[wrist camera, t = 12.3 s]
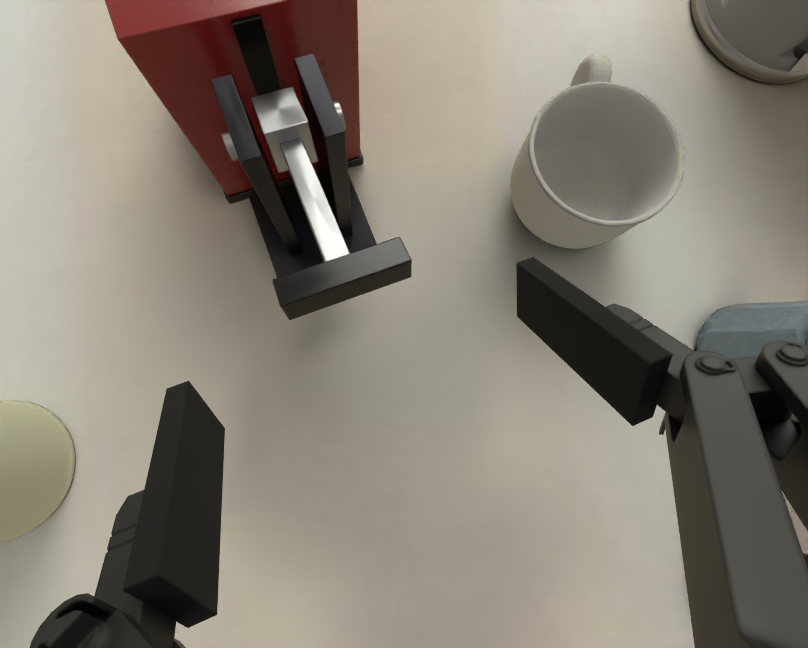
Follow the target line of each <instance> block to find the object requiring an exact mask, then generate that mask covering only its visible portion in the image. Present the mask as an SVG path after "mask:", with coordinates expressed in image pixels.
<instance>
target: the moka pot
mask: <svg viewBox="0 0 808 648" xmlns="http://www.w3.org/2000/svg"><path fill="white" fill-rule="evenodd" d="M774 341H790V342H794V343H798V344H802V345H804V346H806V347H808V301H800V302H778V303H752V304H740V305H734V306H728V307H724V308H721V309H719V310H717V311H716V312H715V313H713V314H712V315H711V316H710V318H709V319H708V320H707V321H706V323H705V324H704V325H703V327H702V329H701V330H700V332H699V335H698V338H697V346H696V347H697V350H696V351H712V352H717V353H720V354H722V355H725V356H727V357H729V358H730V359H734V358H743V357H751V356H758V355H759V353H760V352H761V350H762V348H763V346H764V345H766V344H767V343H769V342H774Z"/></svg>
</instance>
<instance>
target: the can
mask: <svg viewBox="0 0 808 648" xmlns="http://www.w3.org/2000/svg"><path fill="white" fill-rule="evenodd" d="M74 469H75V451H74V446H73V442H72V439H71V436H70V434H69V432H68V431H67V429H66V427H65V426H64V425H63V423H62V422H61V421H60V420H59V419H58V418H57V417H56V416H55V415H54V414H52V413H51V412H49V411H48V410H46V409H44V408H42V407H40V406H37V405H34V404H31V403H27V402H19V401H4V402H0V543H1V542H5V541H9V540H12V539H15V538H18V537H20V536H22V535H24V534H26V533H28V532H30V531H31V530H33V529H35V528H36V527H38V526H39V525H40V524H42V523H43V522H44V521H45V520H46V519H47V518H48V517H49V516H50V515H51V514H52V513H53V512H54V511H55V510H56V509H57V508H58V506H59V505H60V503H61V502H62V501H63V499H64V497H65V495H66V494H67V492H68V490H69V487H70V485H71V482H72V478H73V474H74Z"/></svg>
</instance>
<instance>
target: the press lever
mask: <svg viewBox="0 0 808 648" xmlns="http://www.w3.org/2000/svg"><path fill="white" fill-rule="evenodd" d="M250 100H251V102H252V105H253V108H254V111H255V113H256V116H257V119H258V121H259V124H260V127H261V130H262V132H263V135H264V138H265V140H266V143H267V145H268V148H269V150H270V153H271V156H272V158H273V161H274V163H275V166H276V168H277V171H278V173H281V172H284V171H288V170H289V172H290V174H291V177H292V179H293V182H294V185H295V187H296V190H297V192H298V195H299V198H300V200H301V203H302V205H303V208H304V211H305V213H306V216H307V218H308V221H309V224H310V226H311V229H312V232H313V234H314V237H315V239H316V242H317V245H318V247H319V250H320V252H321V255H322V258H323V260H324V262H323V263H320V264H317V265H314V266H311V267H308V268H305V269H302V270H299V271H296V272H294V273H291V274H288V275H285V276H282V277H279V278H276V279H273V285H274V288H275V291H276V294H277V297H278V301H279V304H280V306H281V308H282V310H283V311H284V313H285V314H286V316H287V317H288V319H289V320H292V319H295V318H297V317H300V316H303V315H306V314H309V313H311V312H314V311H317V310H320V309H323V308H325V307H328V306H331V305H334V304H337V303H340V302H342V301H345V300H348V299H351V298H354V297H356V296H359V295H362V294H365V293H368V292H370V291H373V290H376V289H379V288H382V287H384V286H387V285H390V284H393V283H396V282H399V281H401V280H404V279H407V278H410V277H411V262H412V260H411V258H410V256H409V254H408V252H407V250H406V248H405V246H404V244H403V242H402V240H401V238H400V237H397V238H394V239H391V240H388V241H385V242H382V243H379V244H376V245H374V246H371V247H368V248H365V249H362V250H359V251H356V252H353V253H350V252H349V250H348V248H347V245H346V243H345V241H344V238H343V236H342V233H341V231H340V229H339V226H338V224H337V222H336V219H335V217H334V214H333V212H332V210H331V207H330V205H329V203H328V200H327V198H326V195H325V193H324V191H323V188H322V186H321V184H320V181H319V179H318V177H317V174H316V172H315V169H314V167H313V165H312V163H315V162H318V156H317V152H316V149H315V145H314V141H313V137H312V133H311V129H310V125H309V122H308V119H307V117H306V115H305V113H304V110H303V108H302V106H301V104H300V101H299V99H298V97H297V95H296V92H295V90H294V88H293V87H289V88H285V89H282V90H278V91H274V92H270V93H266V94H263V95H259V96H255V97H251V98H250Z"/></svg>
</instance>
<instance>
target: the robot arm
mask: <svg viewBox="0 0 808 648" xmlns="http://www.w3.org/2000/svg"><path fill="white" fill-rule="evenodd" d="M691 8H692V14H693V19H694V22H695V25H696V27H697V29H698V32H699V34H700V35H701V37H702V39H703V40H704V42H705V43H706V45H707V46H708V47H709V49H710V50H711V51H712V52H713V53H714V54H715V55H716V56H717V57H718V58H719V59H720V60H721V61H722V62H723V63H724V64H726V65H727V66H728V67H730V68H731V69H733V70H735V71H736V72H738V73H740V74H742V75H744V76H746V77H748V78H751V79H754V80H757V81H761V82H766V83H773V84H783V83H791V82H795V81H798V80H801V79H803V78H805V77H807V76H808V0H691ZM517 317H518V318H519V319H520V320H521V321H523V322H524V323H525V324H526V325H527V326H528V327H529V328H530V329H531V330H532V331H533V332H534V333H535V334H536V335H537V336H538V337H539V338H540V339H542V340H543V341H544V342H545V343H546V344H547V345H548V346H549V347H550V348H551V349H552V350H553V351H554V352H555V353H556V354H557V355H558V356H559V357H560V358H562V359H563V360H564V361H565V362H566V363H567V364H568V365H569V366H570V367H571V368H572V369H573V370H574V371H575V372H576V373H577V374H578V375H579V376H580V377H582V378H583V379H584V380H585V381H586V382H587V383H588V384H589V385H590V386H591V387H592V388H593V389H594V390H595V391H596V392H597V393H598V394H599V395H600V396H602V397H603V398H604V399H605V400H606V401H607V402H608V403H609V404H610V405H611V406H612V407H613V408H614V409H615V410H616V411H617V412H618V413H619V414H620V415H622V416H623V417H624V418H625V419H626V420H627V421H628V422H629V423H630V424H631V425H632V426H634V425H636V424H638V423H640V422H643V421H645V420H647V419H649V418H651V417H653V415H654V412H655V409H656V405H658V406H660V407H661V408H662V409H663V410H664V411H666V413H665V416H664V418H663V421H662V424H661V427H660V431H659V434H662V435H663V434H664V431H665V429H666V436H667V443H668V451H669V458H670V466H671V473H672V481H673V488H674V495H675V503H676V510H677V518H678V525H679V532H680V540H681V547H682V555H683V562H684V570H685V577H686V584H687V592H688V599H689V607H690V614H691V622H692V629H693V636H694V644H695V648H808V567H807V564H806V561H805V558H804V555H803V552H802V549H801V546H800V544H799V541H798V538H797V535H796V532H795V529H794V526H793V523H792V520H791V517H790V514H789V511H788V508H787V505H786V502H785V499H784V497H783V494H782V491H783V493H784V494H785V496H786V498H787V499H788V501H789V502H790V504H791V505H792V507H793V509H794V510H795V512H796V513H797V515H798V516H799V518H800V519H801V521H802V523H803V524H804V526H805V527H806V529H807V530H808V347H806V346H804V345H802V344H798V343H794V342H790V341H774V342H769V343H767V344H766V345H764V346H763V348H762V350H761V352H760V353H759V355H758V356H751V357H743V358H734V359H730V358H729V357H727V356H725V355H722V354H720V353H717V352H712V351H693V350H692V349H690V348H689V347H687V346H685V345H684V344H682V343H681V342H679V341H678V340H676V339H675V338H673V337H672V336H670V335H669V334H667V333H666V332H664V331H663V330H661V329H660V328H658V327H656V326H653V324H652V323H650V322H649V321H647V320H646V319H643V317H641V316H640V315H638V314H637V313H635V312H634V311H632V310H631V309H628V308H625V307H622V306H619V305H616V304H612V305H609V306H607V307H604V306H603V305H601V304H600V303H599V302H597V301H596V300H594V299H593V298H591V297H590V296H589V295H587V294H586V293H584V292H583V291H581V290H580V289H578V288H577V287H576V286H574V285H573V284H571V283H570V282H568V281H567V280H565V279H564V278H563V277H561V276H560V275H558V274H557V273H555V272H554V271H553V270H551V269H550V268H548V267H547V266H545V265H544V264H542V263H541V262H540V261H538V260H537V259H535V258H534V257H532V258H529V259H526V260H523V261H521V262H518V263H517ZM224 436H225V428H224V427H223V425H222V424H221V423H220V421H219V420H218V419H217V417H216V416H215V415H214V413H213V412H212V411H211V409H210V408H209V407H208V406H207V404H206V403H205V402H204V400H203V399H202V398H201V396H200V395H199V394H198V392H197V391H196V390H195V388H194V387H193V386H192V384H191V383H190V382H189V381H187V382H184V383H181V384H179V385H176V386H173V387H170V388H167V390H166V394H165V399H164V403H163V408H162V412H161V417H160V421H159V426H158V431H157V435H156V440H155V444H154V449H153V453H152V458H151V462H150V467H149V471H148V476H147V481H146V485H145V490H142V491H140V492H137V493H135V494H132V495H130V496H128V497H127V499H126V500H125V502H124V503H123V505H122V507H121V508H120V510H119V512H118V513H117V515H116V518H115V522H114V526H113V529H112V533H111V534H112V537H110V540H109V544H108V548H107V550H108V552H107V553H106V555H105V559H104V563H103V566H102V570H101V574H100V578H99V581H98V585H97V589H96V592H95V596H92V595H90V594H88V593H87V594H80V595H76V596H74V597H72V598H70V599H68V600H66V601H64V602H63V603H62V604H61V605H60V606H59V607H57V608H56V609H55V610H54V611H53V612H51V614H50V615H49V616H48V617H47V618H46V620H45V621H44V622H43V623H42V624H41V626H40V627H39V629H38V631H37V632H36V634H35V636H34V638H33V640H32V641H31V645H30V648H186V647H185V646H184V645H183V644H182V643H181V642H180V641H178V640H176V639H174V635H175V626H176V621H177V622H178V623H180V624H182V625H184V626H185V627H187V628H189V627H191V626H193V625H195V624H198V623H200V622H202V621H204V620H206V619H209V618H211V617H213V616H215V615H217V603H218V579H219V555H220V531H221V507H222V483H223V459H224ZM781 490H782V491H781Z"/></svg>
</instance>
